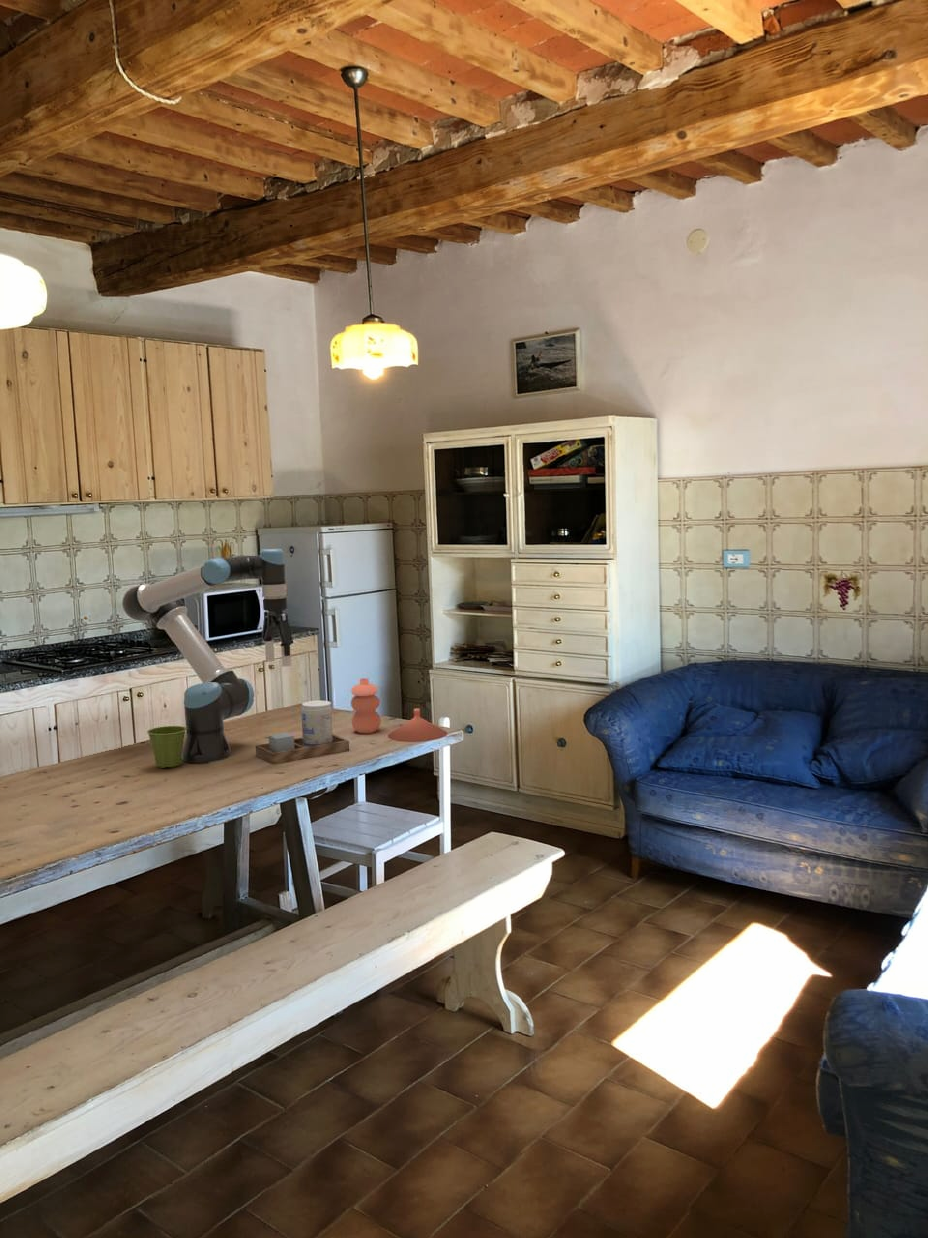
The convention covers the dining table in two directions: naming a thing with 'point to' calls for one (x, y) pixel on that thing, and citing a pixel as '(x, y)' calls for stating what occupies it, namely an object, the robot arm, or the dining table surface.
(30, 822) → the dining table surface
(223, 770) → the dining table surface
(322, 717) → the supplement tub
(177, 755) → the plant pot
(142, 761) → the dining table surface
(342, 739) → the caddy
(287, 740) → the slate block
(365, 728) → the ceramic vessels
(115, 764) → the dining table surface
